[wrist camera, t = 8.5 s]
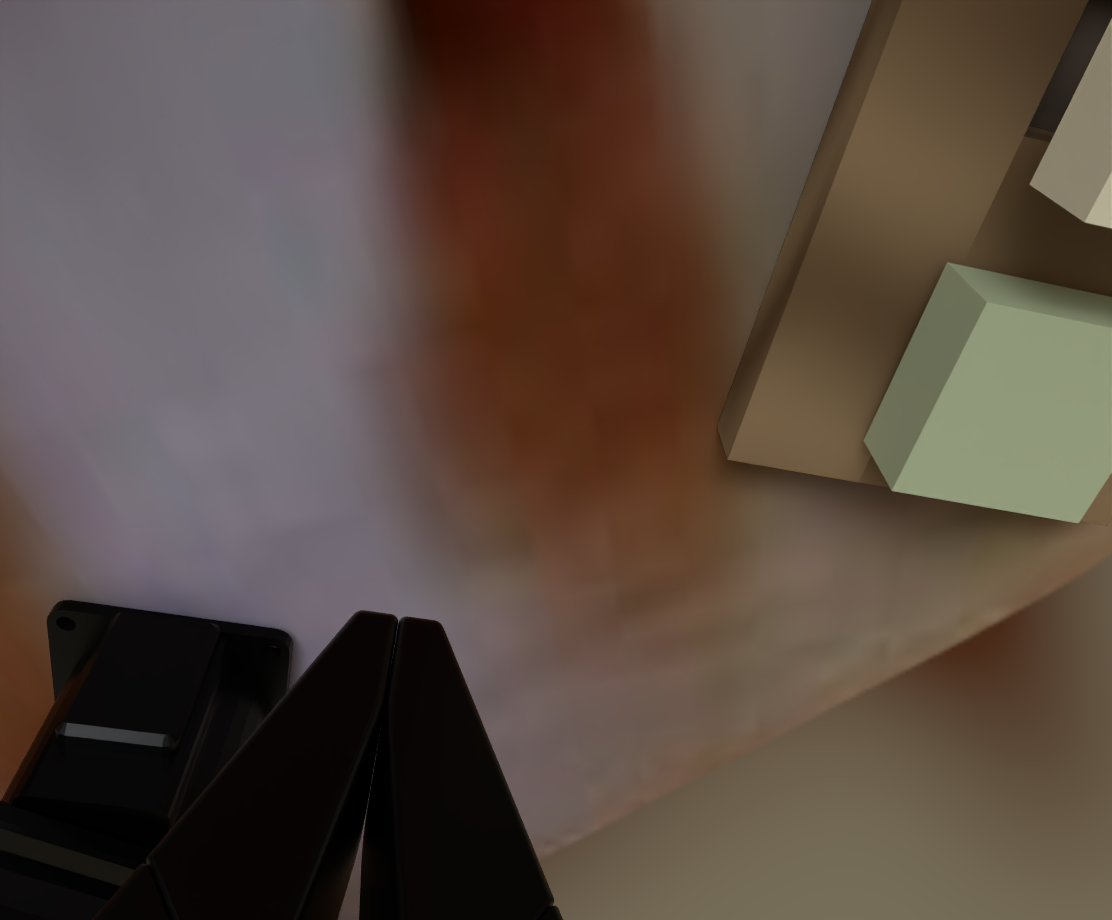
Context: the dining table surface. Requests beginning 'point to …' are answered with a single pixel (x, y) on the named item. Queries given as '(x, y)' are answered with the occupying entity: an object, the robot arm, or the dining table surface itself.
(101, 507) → the dining table surface
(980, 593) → the dining table surface
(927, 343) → the pale green cube
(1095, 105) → the white cube
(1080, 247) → the walnut panel
